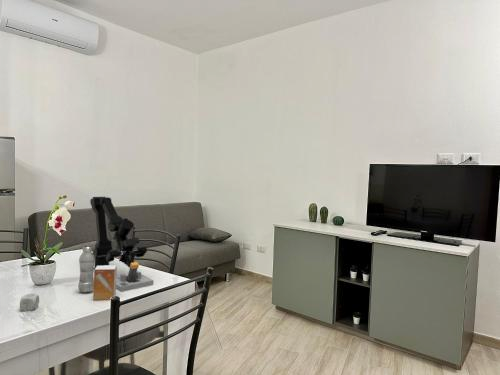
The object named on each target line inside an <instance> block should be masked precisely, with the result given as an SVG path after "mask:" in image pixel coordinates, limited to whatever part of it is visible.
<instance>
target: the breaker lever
mask: <svg viewBox="0 0 500 375" xmlns="http://www.w3.org/2000/svg"><path fill="white" fill-rule="evenodd" d="M139 266H140V264H139V262H138V261H134V263H131V264H130V268H129V270H128V273H127V274H128V275H126V276H127V277H126V281H127V282H129V283H134V282H135V280H136V277H135V276H136V272H137V271H138V268H139Z"/></svg>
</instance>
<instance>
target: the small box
mask: <svg viewBox="0 0 500 375" xmlns="http://www.w3.org/2000/svg"><path fill="white" fill-rule="evenodd" d="M94 268H95V267H94ZM117 268H118V265H115V264H114V265H113V264H112V265H111V264H109V265H104V266H97V267H96V268H95V269H94V270H93V278H94V289H93V293H92V294H93V296H92V297H93V299H92V300H93V301H99V300H100V301H101V300H103V301H104V300H105V301H108V300H110V298H111V297H113V296H115V297H116V294H117V289H116V278H117V277H118V276H117V275H118V274H117V272H118V269H117Z"/></svg>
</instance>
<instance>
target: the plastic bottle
mask: <svg viewBox="0 0 500 375" xmlns="http://www.w3.org/2000/svg"><path fill="white" fill-rule="evenodd" d="M78 260H79V261H78V262H79V281H78V283H77V284H78V285H77V288H78V291H79V292H80V293H90V292H93V291H94V268H95V256H94V255H93V247H92V245H84V246H82V253H81V254H80V256H79V258H78Z"/></svg>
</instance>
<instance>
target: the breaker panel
mask: <svg viewBox="0 0 500 375" xmlns="http://www.w3.org/2000/svg"><path fill="white" fill-rule="evenodd" d="M127 276H128V275H126V274H125V273H120V276H117V278H116V291H119V292H121V293H122V292H126V291H131V290H136V289H141V288H144V287H149V286H153V285H154V279H151V278H149V277H147V276H145V275H144V274H142V272H141V271H138V270H137V272H136V276H135V277H136V280H135V282H131V283H129V282H127V281H126V277H127Z"/></svg>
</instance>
